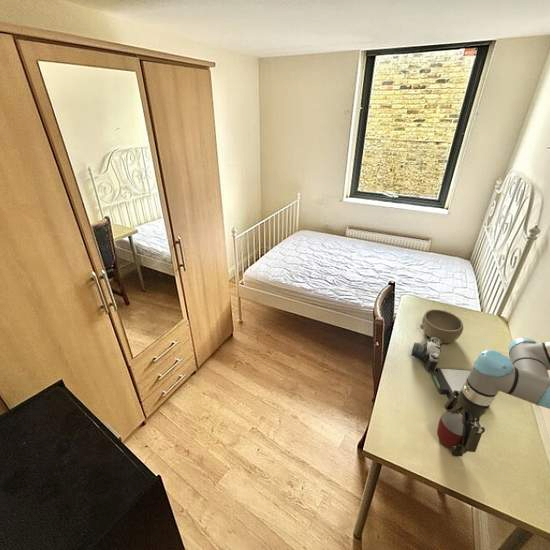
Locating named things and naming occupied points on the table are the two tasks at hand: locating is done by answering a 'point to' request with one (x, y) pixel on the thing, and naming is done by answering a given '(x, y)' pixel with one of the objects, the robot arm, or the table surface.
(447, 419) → the mug
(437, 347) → the camera
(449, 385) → the scale
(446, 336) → the bowl
